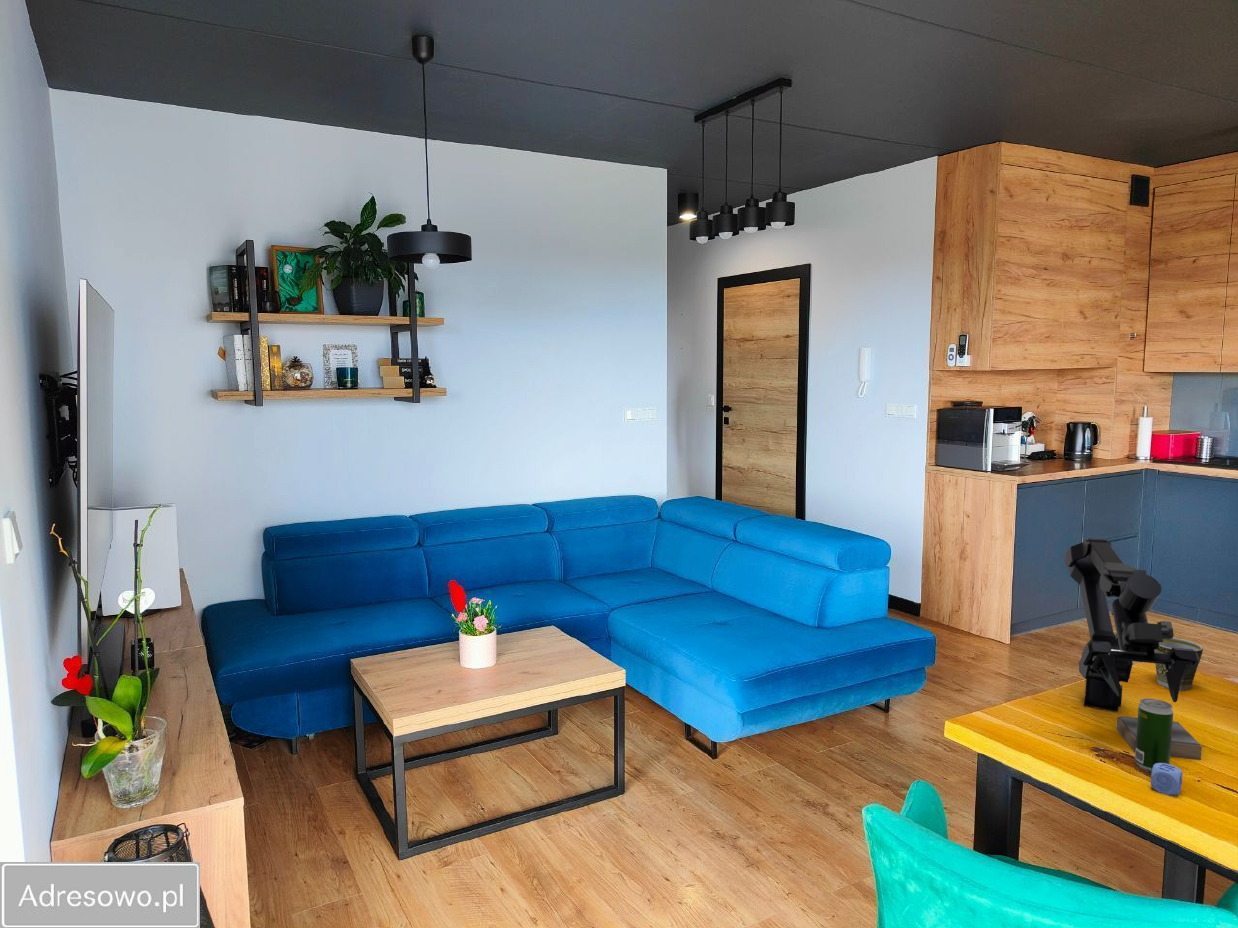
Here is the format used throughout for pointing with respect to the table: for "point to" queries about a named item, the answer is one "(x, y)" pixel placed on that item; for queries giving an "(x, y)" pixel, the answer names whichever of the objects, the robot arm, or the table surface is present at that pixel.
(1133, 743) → the gray plinth
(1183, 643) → the ceramic cup
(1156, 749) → the beer can
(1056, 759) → the table surface
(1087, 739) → the table surface
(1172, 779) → the decorative dice
